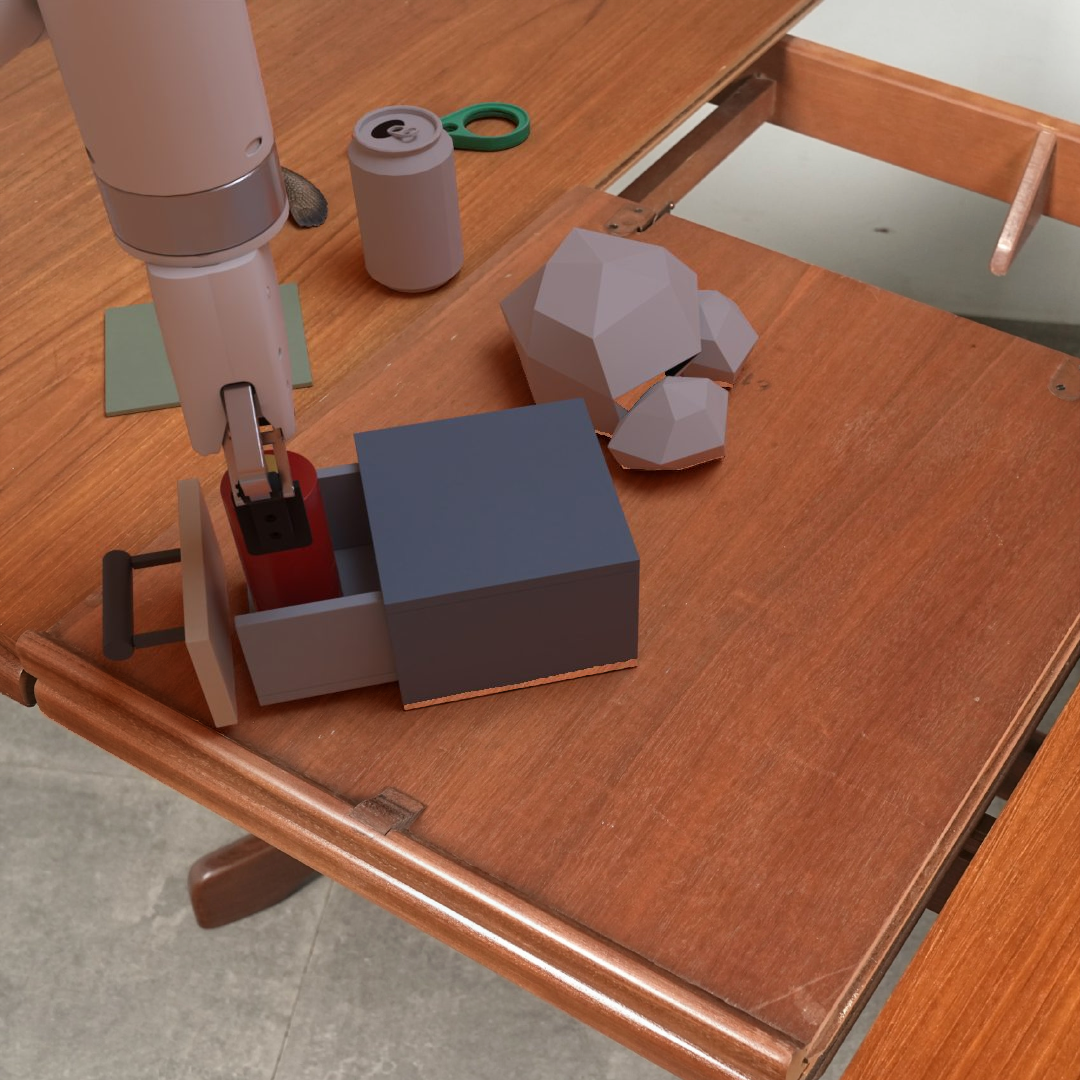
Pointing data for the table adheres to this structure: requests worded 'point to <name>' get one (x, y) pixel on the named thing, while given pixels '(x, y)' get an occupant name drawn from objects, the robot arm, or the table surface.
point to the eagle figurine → (304, 199)
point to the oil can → (294, 570)
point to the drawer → (268, 636)
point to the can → (406, 198)
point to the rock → (631, 346)
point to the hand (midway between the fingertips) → (273, 481)
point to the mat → (143, 364)
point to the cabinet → (499, 549)
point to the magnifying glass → (469, 140)
